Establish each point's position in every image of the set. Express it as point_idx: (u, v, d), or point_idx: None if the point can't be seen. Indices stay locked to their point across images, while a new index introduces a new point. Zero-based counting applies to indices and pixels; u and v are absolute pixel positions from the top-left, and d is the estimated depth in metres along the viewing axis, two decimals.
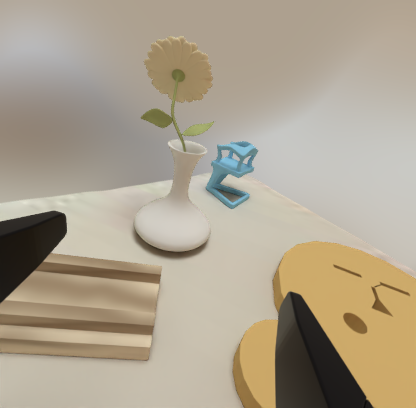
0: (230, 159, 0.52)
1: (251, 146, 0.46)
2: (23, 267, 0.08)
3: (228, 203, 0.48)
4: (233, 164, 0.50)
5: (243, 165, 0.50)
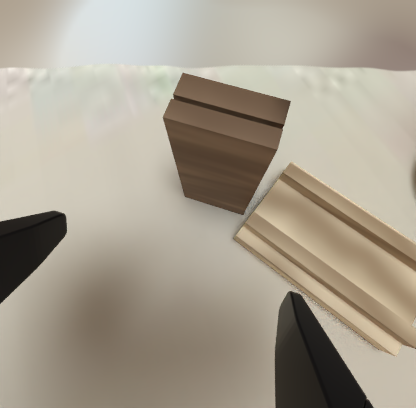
0: None
1: None
2: (23, 267, 0.08)
3: None
4: None
5: None
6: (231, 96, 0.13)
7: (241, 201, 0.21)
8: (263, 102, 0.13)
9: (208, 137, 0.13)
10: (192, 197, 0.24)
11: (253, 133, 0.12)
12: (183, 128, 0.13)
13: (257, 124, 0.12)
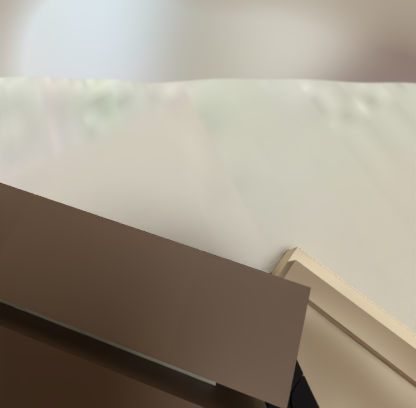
0: None
1: None
2: None
3: None
4: None
5: None
6: (93, 264, 0.04)
7: None
8: (208, 293, 0.03)
9: None
10: None
11: None
12: None
13: None
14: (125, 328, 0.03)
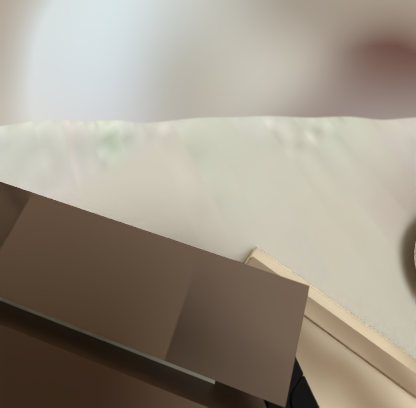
0: None
1: None
2: None
3: None
4: None
5: None
6: (92, 262, 0.04)
7: None
8: (207, 291, 0.03)
9: None
10: None
11: None
12: None
13: None
14: (124, 326, 0.03)
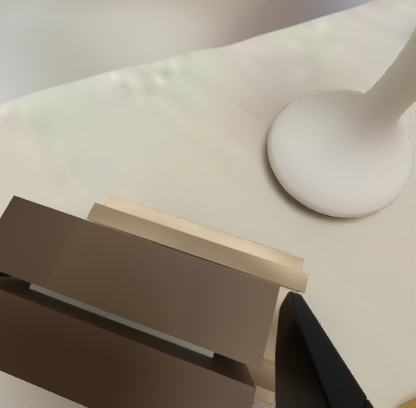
0: None
1: None
2: None
3: None
4: None
5: None
6: (125, 269, 0.05)
7: None
8: (207, 290, 0.05)
9: None
10: None
11: (171, 404, 0.04)
12: None
13: (185, 369, 0.04)
14: (149, 314, 0.05)
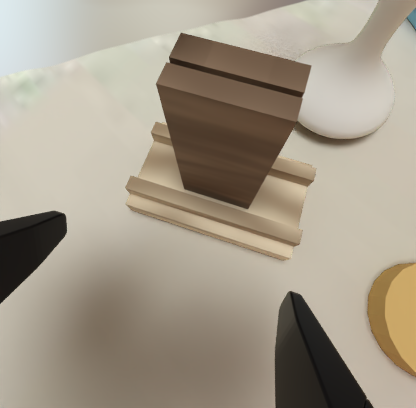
0: None
1: None
2: (23, 267, 0.08)
3: None
4: None
5: None
6: (239, 59, 0.11)
7: (247, 193, 0.18)
8: (278, 66, 0.11)
9: (212, 108, 0.11)
10: (192, 190, 0.22)
11: (267, 102, 0.10)
12: (180, 98, 0.11)
13: (271, 92, 0.10)
14: (253, 75, 0.10)
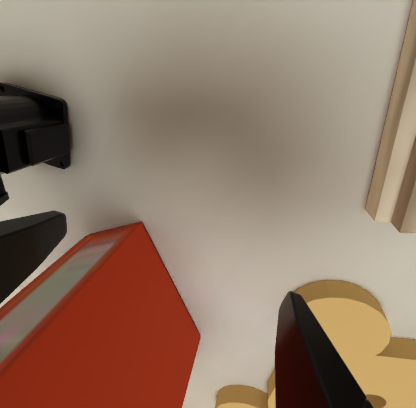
0: None
1: None
2: (23, 267, 0.08)
3: None
4: None
5: None
6: None
7: None
8: None
9: None
10: None
11: None
12: None
13: None
14: None
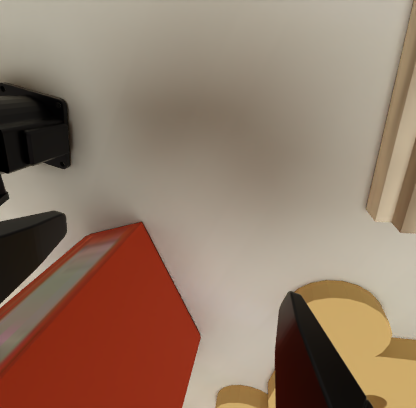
0: None
1: None
2: (23, 267, 0.08)
3: None
4: None
5: None
6: None
7: None
8: None
9: None
10: None
11: None
12: None
13: None
14: None
